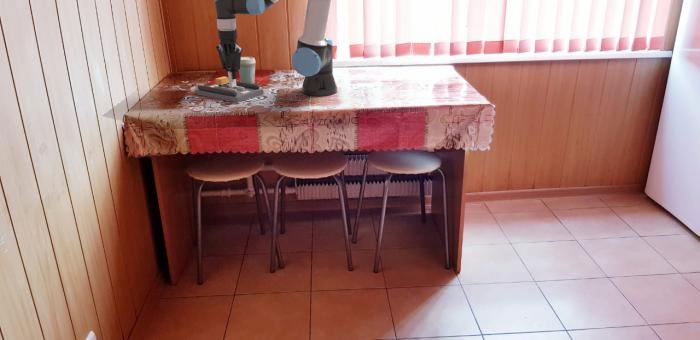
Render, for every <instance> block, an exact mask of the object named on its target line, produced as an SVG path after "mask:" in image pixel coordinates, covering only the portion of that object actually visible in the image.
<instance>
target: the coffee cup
mask: <svg viewBox="0 0 700 340" xmlns="http://www.w3.org/2000/svg"><path fill="white" fill-rule="evenodd" d="M256 63H257V62H256V59H255V57H253V56H241V60H240V69H239V70H238V73H239V79H240V82H246V83H252V84H255V81H256V80H255V76H256Z"/></svg>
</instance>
